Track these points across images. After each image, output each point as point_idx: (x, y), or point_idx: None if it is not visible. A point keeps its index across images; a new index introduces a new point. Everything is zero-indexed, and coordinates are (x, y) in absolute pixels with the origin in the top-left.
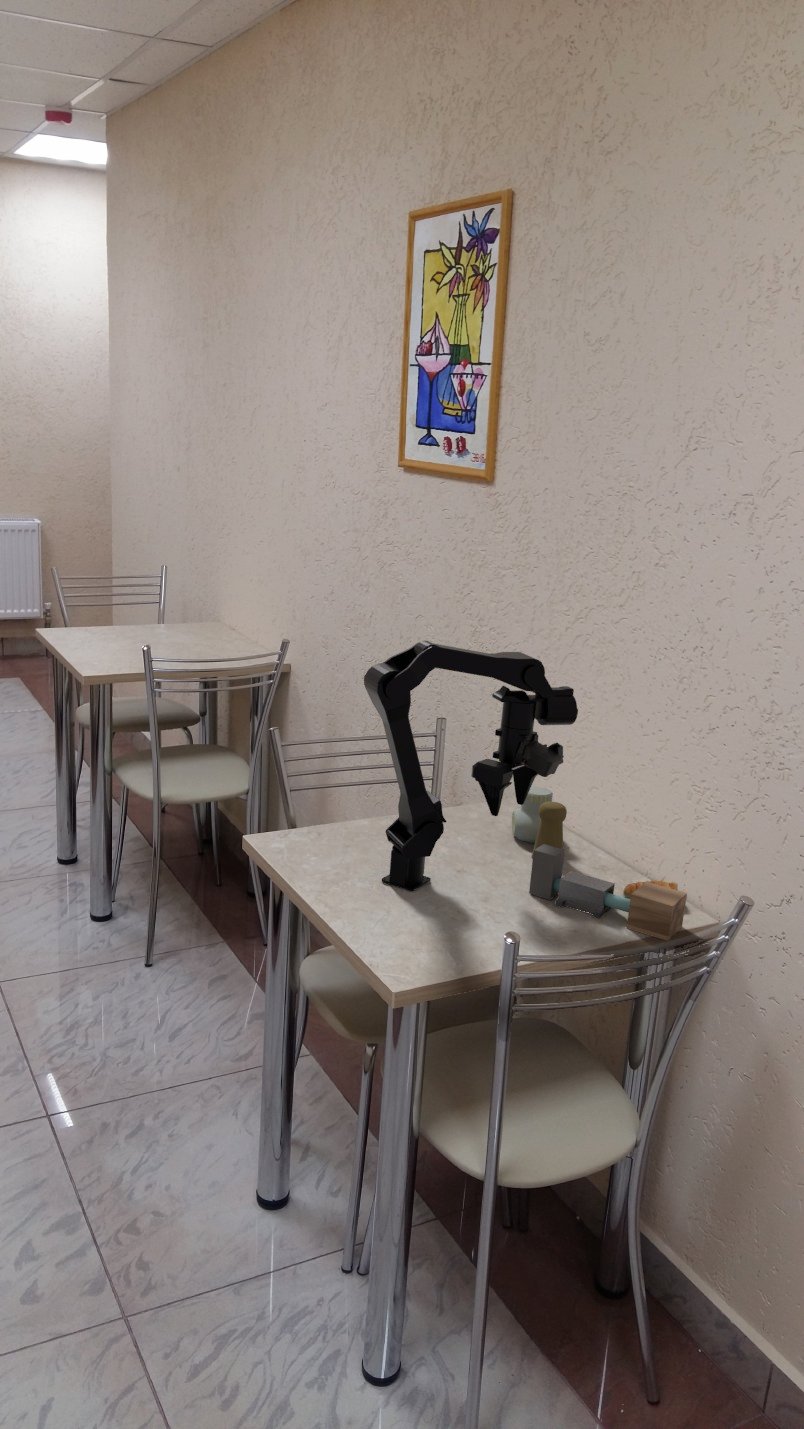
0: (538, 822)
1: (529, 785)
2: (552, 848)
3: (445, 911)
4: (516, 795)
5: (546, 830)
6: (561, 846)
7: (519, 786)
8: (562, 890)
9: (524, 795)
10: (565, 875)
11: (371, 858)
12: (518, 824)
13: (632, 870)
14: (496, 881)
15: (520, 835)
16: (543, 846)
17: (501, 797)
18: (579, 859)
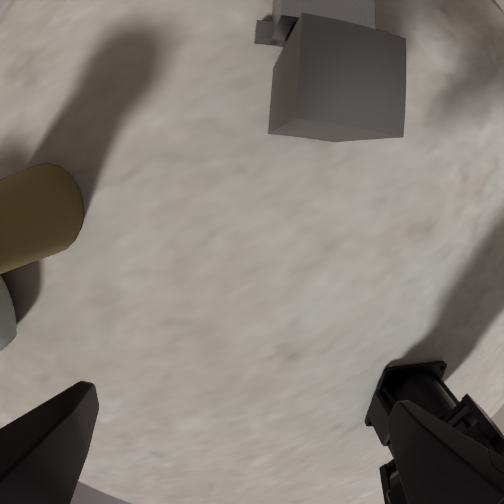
0: None
1: (9, 457)
2: (328, 63)
3: (493, 271)
4: (87, 449)
5: (17, 231)
6: (19, 174)
7: (57, 489)
8: None
9: (67, 421)
10: None
11: (325, 470)
12: (1, 340)
13: (7, 18)
14: (300, 255)
15: (15, 317)
16: (333, 108)
17: (483, 464)
18: (3, 140)
